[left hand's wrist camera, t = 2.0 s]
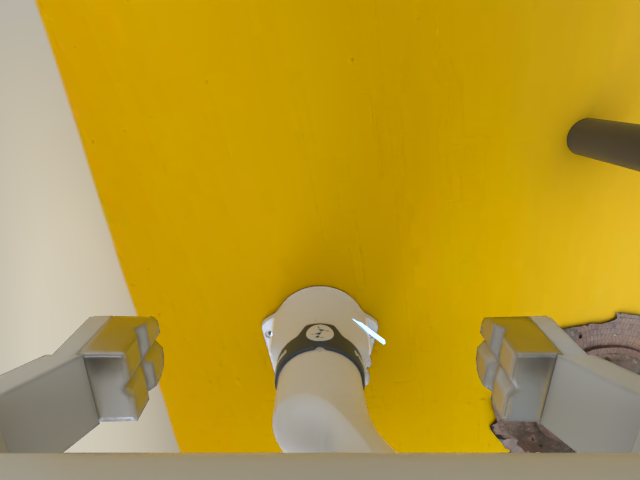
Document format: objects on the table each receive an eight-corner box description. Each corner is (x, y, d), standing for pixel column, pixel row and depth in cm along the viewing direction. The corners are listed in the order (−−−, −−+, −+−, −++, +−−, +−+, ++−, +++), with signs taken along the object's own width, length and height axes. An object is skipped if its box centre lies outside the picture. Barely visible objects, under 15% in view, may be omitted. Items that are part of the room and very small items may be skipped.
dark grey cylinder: (568, 121, 54) (686, 139, 37) (605, 115, 54) (741, 131, 37) (565, 157, 56) (677, 190, 39) (601, 151, 56) (730, 183, 38)
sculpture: (638, 472, 78) (714, 564, 63) (463, 449, 76) (499, 539, 61) (729, 328, 66) (848, 399, 51) (525, 296, 64) (587, 361, 49)
